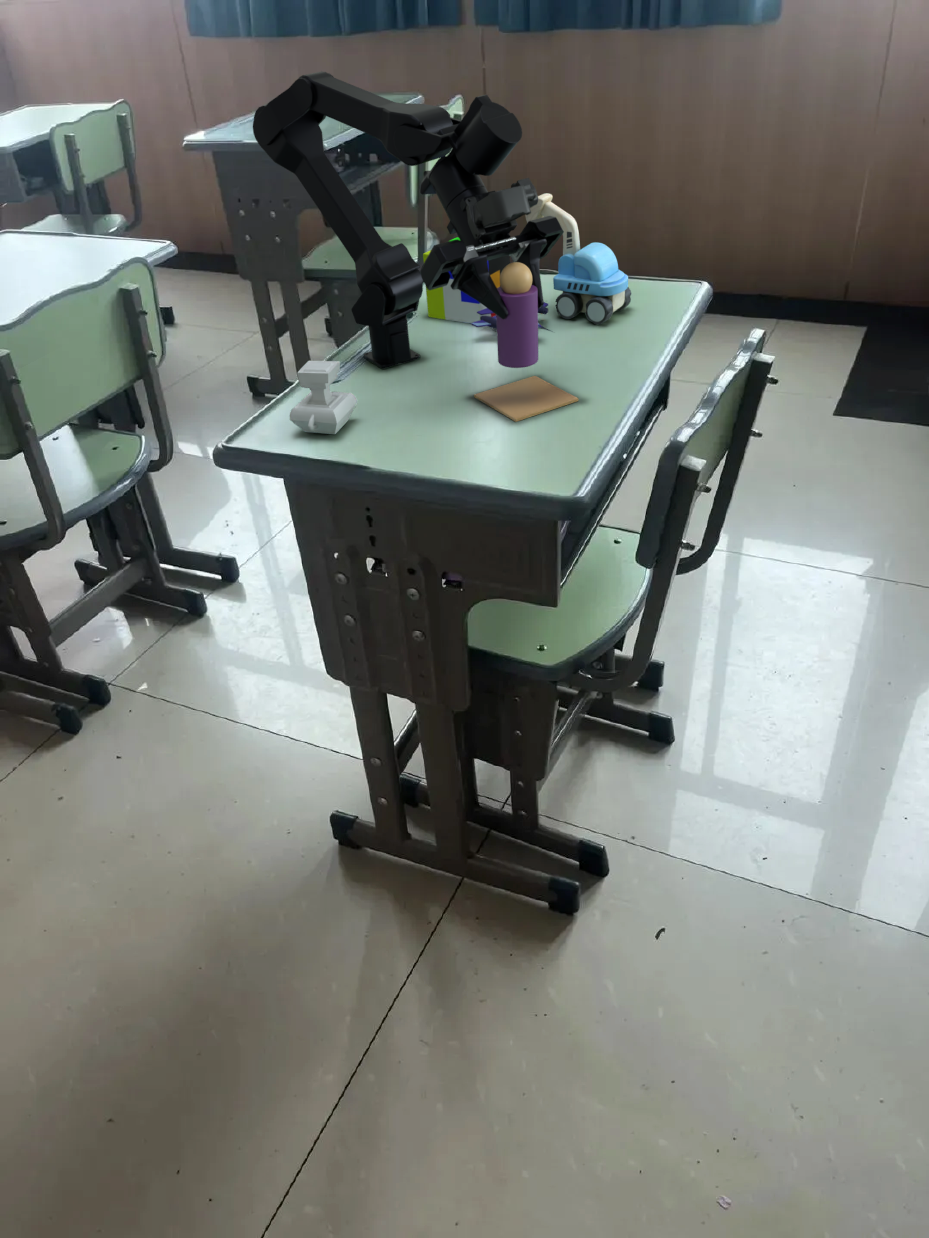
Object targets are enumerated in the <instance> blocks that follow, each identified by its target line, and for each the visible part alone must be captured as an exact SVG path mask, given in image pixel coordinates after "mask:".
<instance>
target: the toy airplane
mask: <svg viewBox="0 0 929 1238" xmlns="http://www.w3.org/2000/svg"><path fill="white" fill-rule="evenodd" d="M548 306H549V303H547V302H545V301H544V304H543V306H542V307H541V308H538V314H539V315H540V314H541V315H548V313H549V309H548ZM477 313H478V314H480V315H485V314H492V313H493V312H492V311H491V310H489V309H488V308H486V309H483V310H480V311H478V312H477ZM470 325H471V326H473V327H476V328H482V327H488V328H491V329H492V330H493V331H494V332H497V323H496V315H495V316H494V317H490V316H481V317H480V321H476V322H473V323H470ZM538 329H544V330H546V331H549V332H552V333H556V332H554V331H553V330H550V329H548V328H546V327H544V326H543V324H540V323H539V322H538Z"/></svg>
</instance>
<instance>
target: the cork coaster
mask: <svg viewBox="0 0 929 1238" xmlns="http://www.w3.org/2000/svg"><path fill="white" fill-rule="evenodd" d="M473 398H474V399H476V400H477V401H479V402H481V403H483V404H485V405H486V406H488V407H490V408H491V409H492V410H495V411H497V412H498V413H500V414H501V415H503V416H505V417H507V418H508V419H510V420H512V421H514V423H515V422H516V423H517V422H521V421H523V420H525V419H528V418H529V419H530V418H531V417H534V416H538V415H540V414H543V413H544V414H545V413H547V412H550V411H552V410H556V409H559V408H562V407H565V406H568V405H571V404H574V403H577V402H579V398H578V397H577V396H575V395H573V394H571V393H569V392H567V391H565V390H563V389H561V388H559V387H558V386H556V385H554V384H552V383H549V382H548V381H547V380H546V381H545V380H544V379H542V378H540V377H538V376H536V375H533V376H529V377H526V378H522V379H520V380H516V381H513V382H510V383H506V384H503V385H500V386H497V387H494V388H491V389H487V390H484V391H481V392H478V393H474V394H473Z"/></svg>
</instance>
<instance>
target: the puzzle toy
mask: <svg viewBox="0 0 929 1238" xmlns="http://www.w3.org/2000/svg"><path fill="white" fill-rule="evenodd" d="M456 239H457V240H460V239H459V237H458V236H457V237H455V238H452V239H450V240H448V241H447V242H449V241H452V240H456ZM431 250H432V249H430V250H428V251H426V252H424V253H423V254H422V260H423V263H424V262H425V260H426V259H427V257H428V255H429V253H430V251H431ZM487 263H488V271H489V274H490V276H491V278H492V280H493V282H494V284H495V286H496V288H498V287H500V286H501V285H500V275H501V272H502V270H503V269H504V268H505V267H506V266H507V265H508V264H510V263H511V256H509V255H506V256H503V257H499V258H495V259H492V260H488V261H487ZM448 272H449V274H450V276H451V277H450V280H449V283H448V284H447V286H443V287H440V288H436V289H433V290H428V289H427V287H426V286H425V294H426V305H427V315H428V318H432V319H438V320H445V321H451V322H452V321H453V322H459V323H466V324H471V323H473V322H476V321H480V317H481V316H490V317H494V316H496V314H495V313H492V314H485V315H480V314H478V313H477V312H478V311H480V310H483V309H486V308H487V307H485V306H484V305H482V304H481V303H480V302H478V301H477V300H475V299H474V298H472V297H470V296H469V295H467V294H465V293H464V292H462V291H460V290H459V289H455V290H453V289H452V288H451V284H452V282H453V280H454V278H453V276H452V274H451V272H450V271H448Z"/></svg>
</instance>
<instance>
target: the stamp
mask: <svg viewBox="0 0 929 1238" xmlns="http://www.w3.org/2000/svg"><path fill="white" fill-rule="evenodd" d="M340 371H341V361H337V360H336V361H335V360H307V362H306V363H305V364H304V365H303V366H302V367H301V368H300V369H299V370H298V371H297V372H296V374H297V380H298V383H299V386H300V387H301V388H304V389H309V390H310V391H309V392H308V393H307V394H306V396H304V397H303V398H302V399H301V400H300V401H299V402H298V403H297V404H295V406H294V407H293V408H292V409H291V410H290V411H289V421H290V422H292V423H293V424H294V425H295V426H297V427H298V428H299V429H300V430H302V431H303V432H304V433H315V434H326V435H327V434H328V435H336V434H337V433H338V432H339V431H340V430H341V429H342V428H343V426H344V425H345V424H346V423H347V422H348V421H349V420H350V418H351V415H352V414H353V412H354V410H355V408H356V407H357V404H358V402H359V401H358V398H357V397H356V395H355V394H354V393H352V392H345V391H344V392H341V391H331V385H332V384H333V383H334V382H335V381H336V380H337V379H338V377H339V375H338V374H339V373H340Z"/></svg>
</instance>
